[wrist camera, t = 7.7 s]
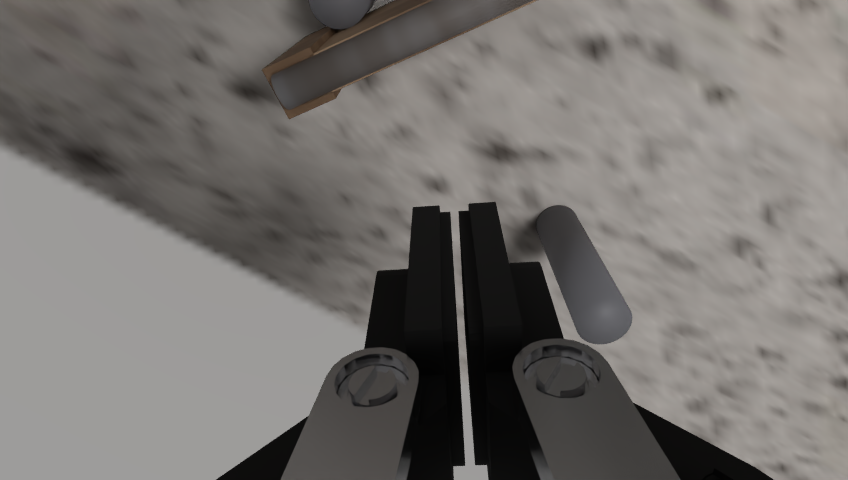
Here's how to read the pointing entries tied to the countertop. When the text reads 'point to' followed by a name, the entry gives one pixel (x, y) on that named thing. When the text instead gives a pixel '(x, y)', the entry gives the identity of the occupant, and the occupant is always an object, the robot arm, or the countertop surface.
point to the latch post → (583, 277)
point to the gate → (372, 46)
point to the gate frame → (340, 12)
